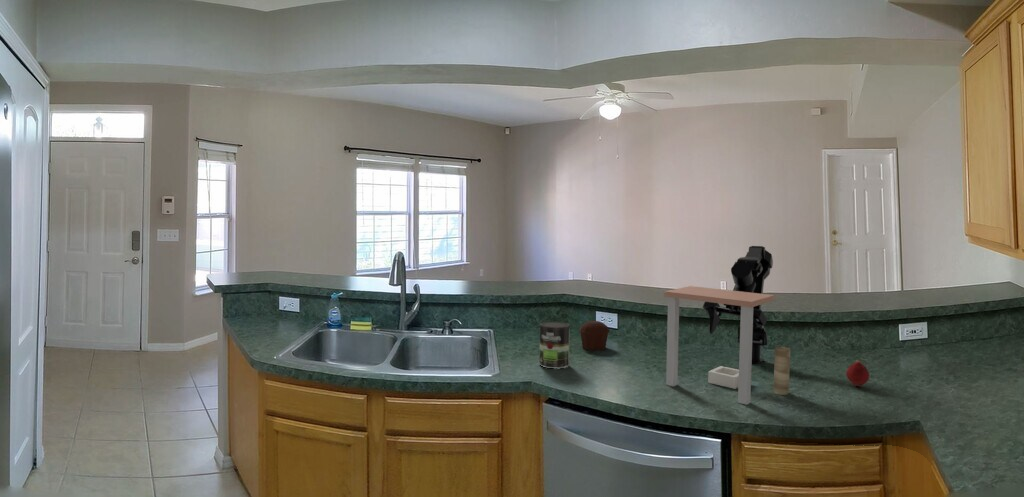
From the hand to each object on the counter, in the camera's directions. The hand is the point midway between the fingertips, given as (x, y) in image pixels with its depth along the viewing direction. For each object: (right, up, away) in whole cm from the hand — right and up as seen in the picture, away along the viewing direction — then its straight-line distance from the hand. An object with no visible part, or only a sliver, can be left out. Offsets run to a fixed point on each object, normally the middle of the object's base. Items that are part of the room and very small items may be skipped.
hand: (724, 336), depth 175 cm
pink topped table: (-5, -14, -7) cm, 17 cm away
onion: (+38, -14, -5) cm, 41 cm away
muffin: (-34, -11, +42) cm, 55 cm away
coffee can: (-51, -13, +18) cm, 56 cm away
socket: (+1, -14, -1) cm, 14 cm away
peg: (+13, -15, -10) cm, 22 cm away
